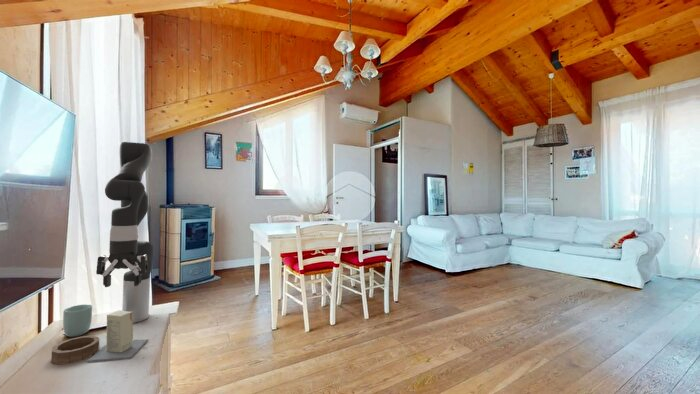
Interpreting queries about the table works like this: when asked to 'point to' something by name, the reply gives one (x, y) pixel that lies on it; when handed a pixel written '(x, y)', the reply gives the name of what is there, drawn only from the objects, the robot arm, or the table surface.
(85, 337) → the holder ring
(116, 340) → the skincare box
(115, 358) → the mat
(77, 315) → the cup
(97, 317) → the table surface
